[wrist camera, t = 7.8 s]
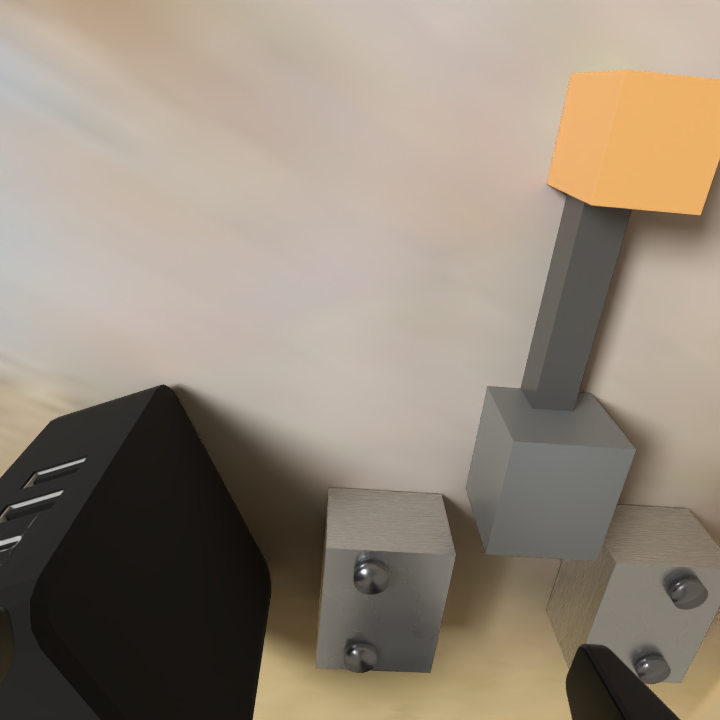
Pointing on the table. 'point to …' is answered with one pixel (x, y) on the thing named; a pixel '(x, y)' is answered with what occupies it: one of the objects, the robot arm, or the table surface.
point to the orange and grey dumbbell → (586, 311)
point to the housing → (566, 605)
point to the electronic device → (128, 572)
